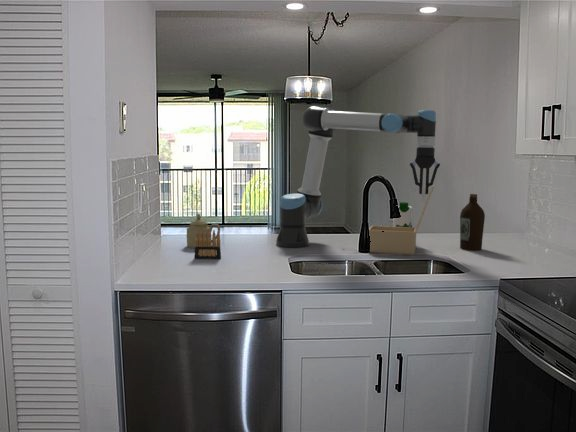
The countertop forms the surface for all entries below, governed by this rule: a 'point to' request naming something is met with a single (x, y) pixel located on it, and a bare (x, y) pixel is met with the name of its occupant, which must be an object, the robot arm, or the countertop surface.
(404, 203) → the milk carton
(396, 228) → the carton
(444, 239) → the countertop surface
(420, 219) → the carton flap
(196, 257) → the ammunition clip
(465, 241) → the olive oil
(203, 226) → the sugar bowl
